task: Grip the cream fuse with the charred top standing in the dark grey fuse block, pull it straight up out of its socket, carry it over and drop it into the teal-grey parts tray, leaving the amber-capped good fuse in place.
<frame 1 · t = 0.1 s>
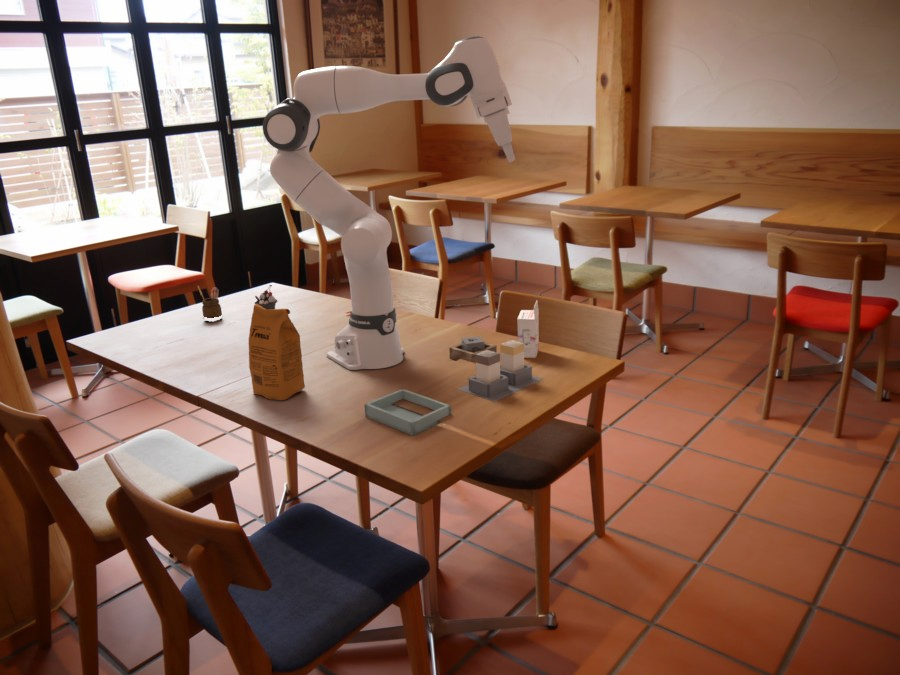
hand: (511, 159, 182), 52 cm above the table, tool tilted 20°, fingers open, 8 cm apart
dice corral: (473, 357, 201), on the table
good fuse: (512, 378, 182), point 1 cm above the table, touching fuse block
blown fuse: (488, 389, 176), point 1 cm above the table, touching fuse block
ink cartridge box: (528, 356, 200), on the table
fuse block: (500, 387, 179), on the table
utensil holder: (213, 320, 246), on the table
sundae: (270, 333, 230), on the table
dice cube: (473, 358, 201), resting in dice corral
coffee package: (278, 393, 183), on the table
parts tray: (408, 417, 165), on the table
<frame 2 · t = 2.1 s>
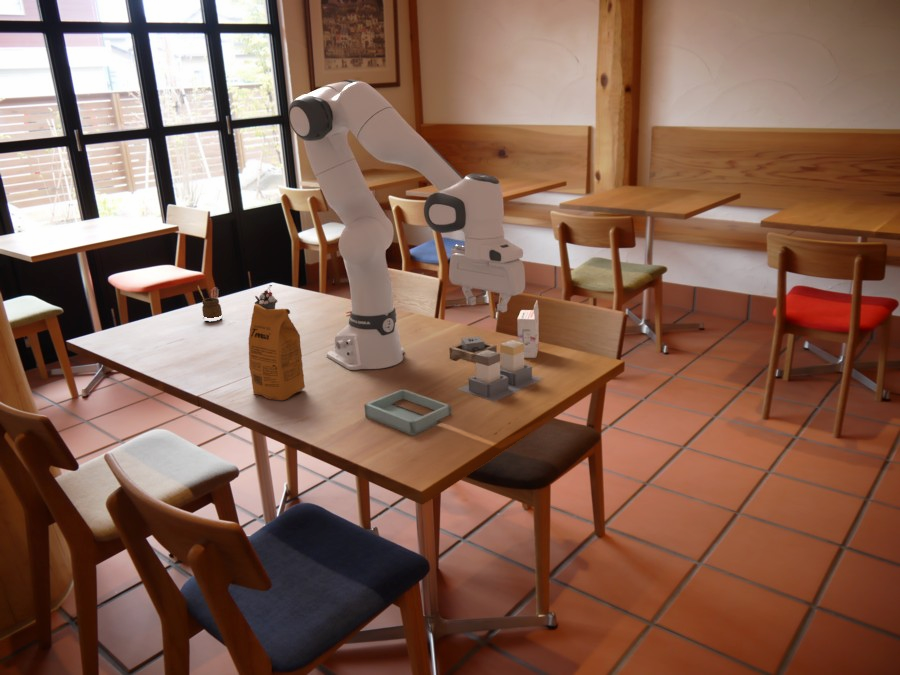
hand: (486, 308, 170), 21 cm above the table, tool pointing down, fingers open, 8 cm apart
nothing on the table moved.
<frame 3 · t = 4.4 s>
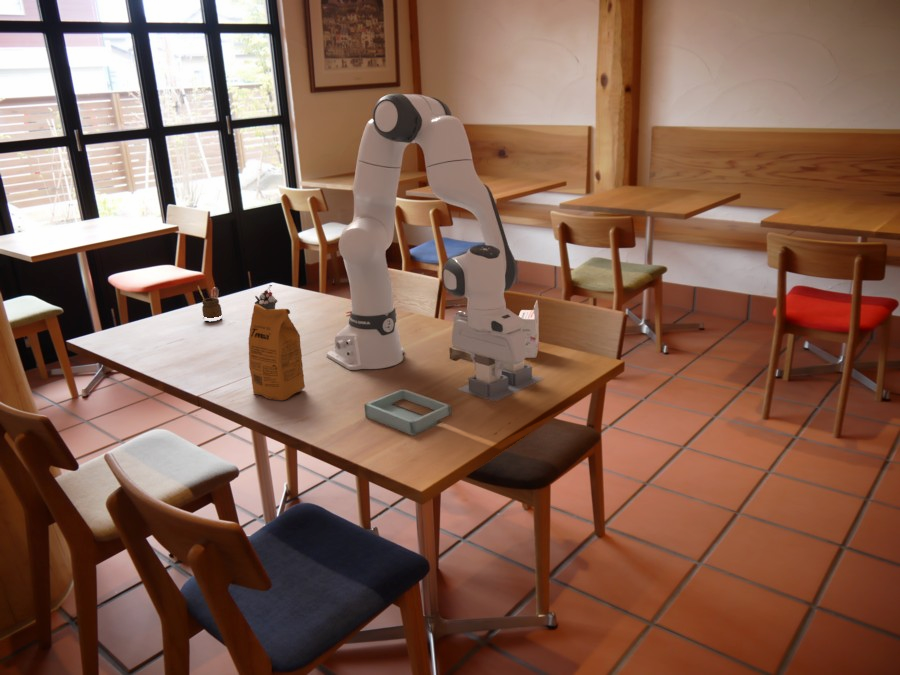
hand: (488, 373, 175), 5 cm above the table, tool pointing down, fingers closed on blown fuse, 4 cm apart
blown fuse: (488, 389, 176), point 1 cm above the table, touching fuse block, gripper
everything else where it was.
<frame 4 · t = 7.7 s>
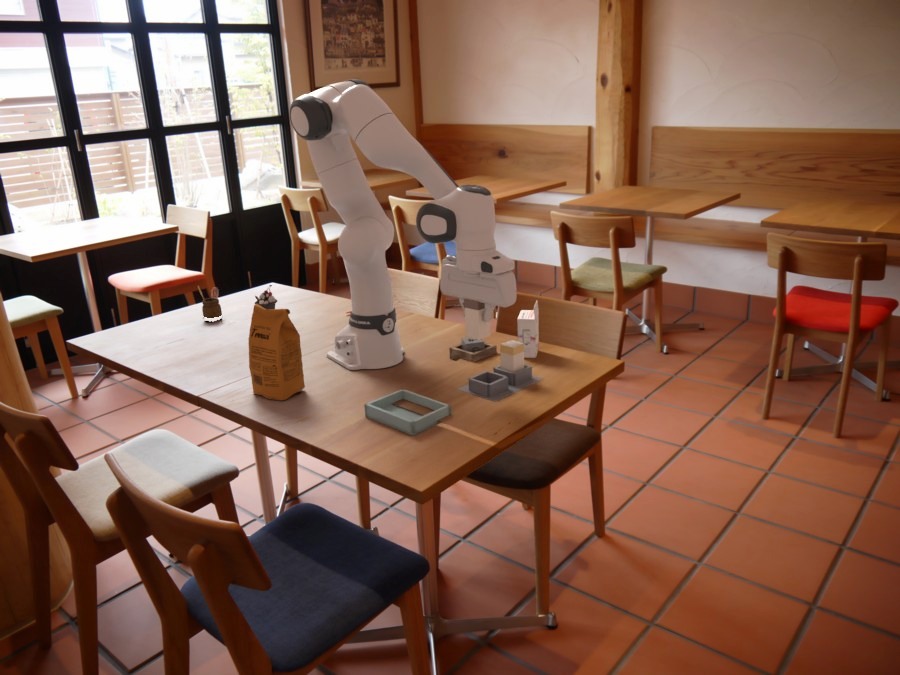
hand: (477, 319, 169), 19 cm above the table, tool pointing down, fingers closed on blown fuse, 4 cm apart
blown fuse: (478, 336, 171), point 15 cm above the table, touching gripper
everything else where it was.
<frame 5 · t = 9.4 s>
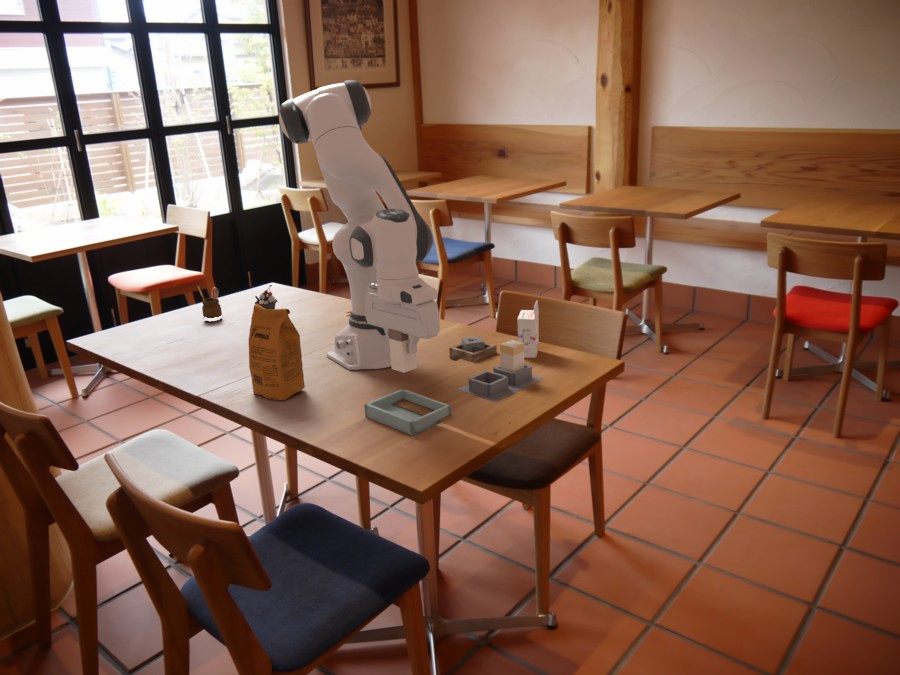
hand: (403, 350, 160), 16 cm above the table, tool pointing down, fingers closed on blown fuse, 4 cm apart
blown fuse: (404, 368, 161), point 12 cm above the table, touching gripper
everything else where it was.
when the fingers open (6 cm above the table, at t = 11.1 s): blown fuse drops 1 cm, resting on parts tray.
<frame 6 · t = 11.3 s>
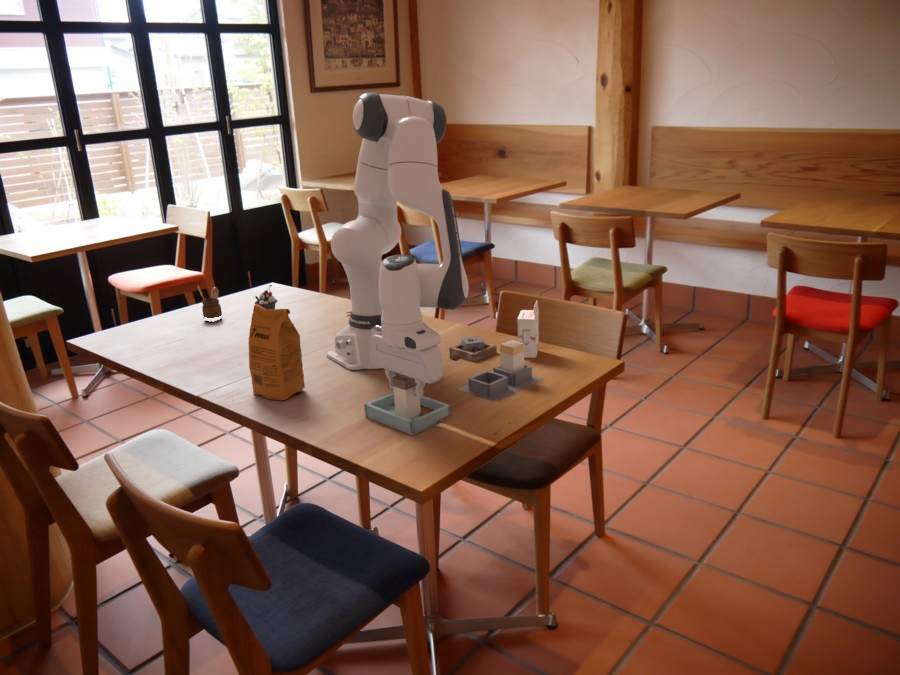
hand: (406, 391, 163), 6 cm above the table, tool pointing down, fingers open, 6 cm apart
blown fuse: (408, 414, 165), point 1 cm above the table, touching parts tray
everything else where it was.
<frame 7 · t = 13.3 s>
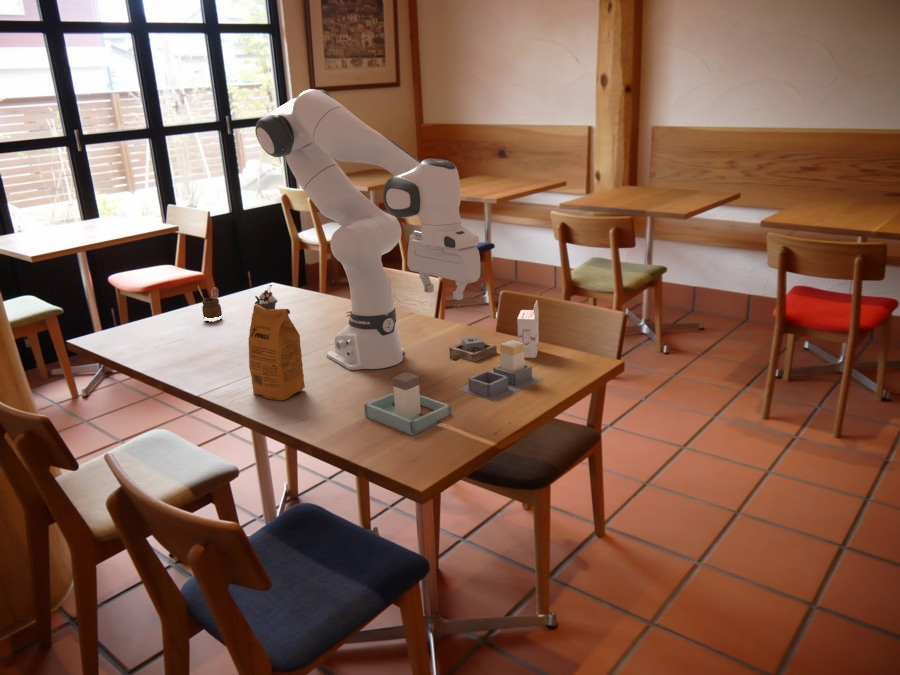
hand: (443, 295, 168), 25 cm above the table, tool pointing down, fingers open, 8 cm apart
nothing on the table moved.
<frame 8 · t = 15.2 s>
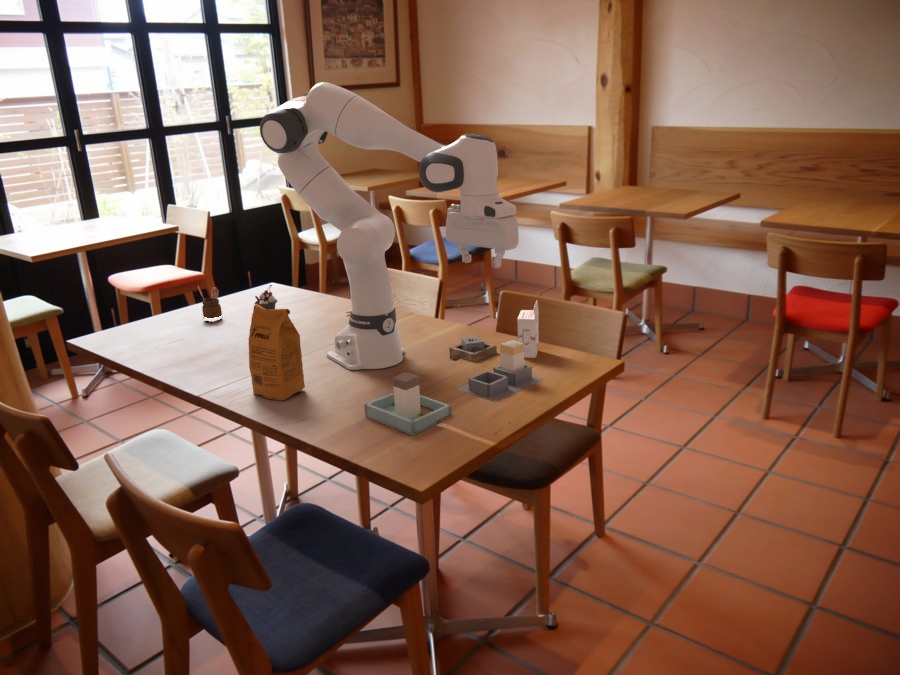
hand: (481, 264, 176), 29 cm above the table, tool pointing down, fingers open, 8 cm apart
nothing on the table moved.
at the end: blown fuse inside the target area on the parts tray (0.1 cm from its centre), point 0.6 cm above the parts tray's base; the gripper is holding nothing; good fuse moved 0.0 cm from its start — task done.
